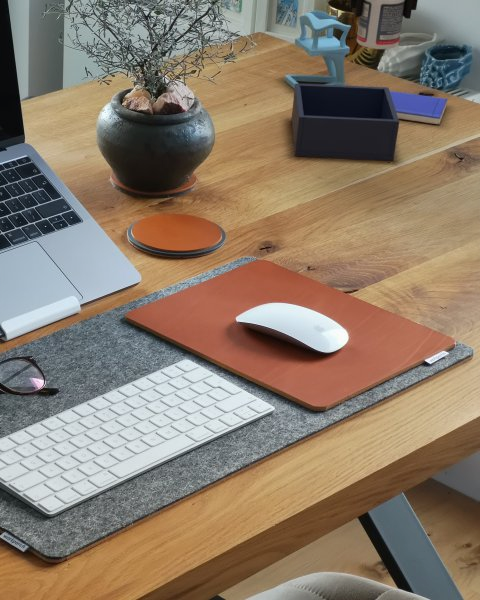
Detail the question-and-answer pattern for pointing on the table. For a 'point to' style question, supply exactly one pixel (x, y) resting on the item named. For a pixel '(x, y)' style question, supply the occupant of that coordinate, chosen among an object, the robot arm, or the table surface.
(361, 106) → the bin
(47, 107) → the table surface
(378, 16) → the pill bottle
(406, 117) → the blue book
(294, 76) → the chair
